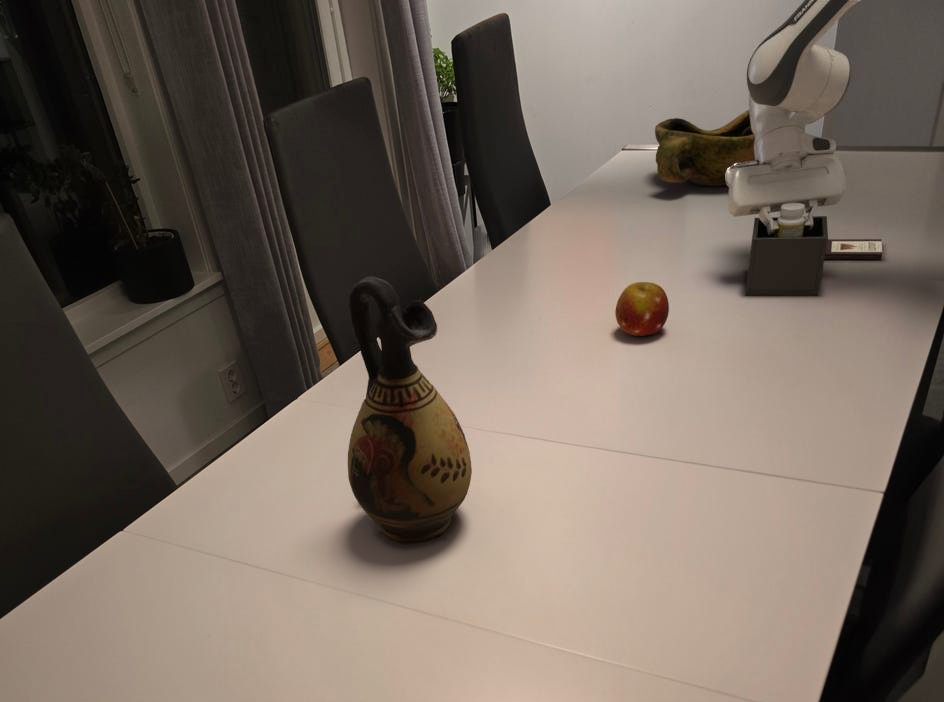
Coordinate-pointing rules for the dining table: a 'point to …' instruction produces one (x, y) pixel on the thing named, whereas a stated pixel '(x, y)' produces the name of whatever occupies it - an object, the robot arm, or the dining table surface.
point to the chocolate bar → (854, 249)
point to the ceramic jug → (403, 424)
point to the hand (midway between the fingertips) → (790, 230)
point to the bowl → (702, 150)
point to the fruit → (642, 309)
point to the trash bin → (787, 260)
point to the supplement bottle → (791, 220)
